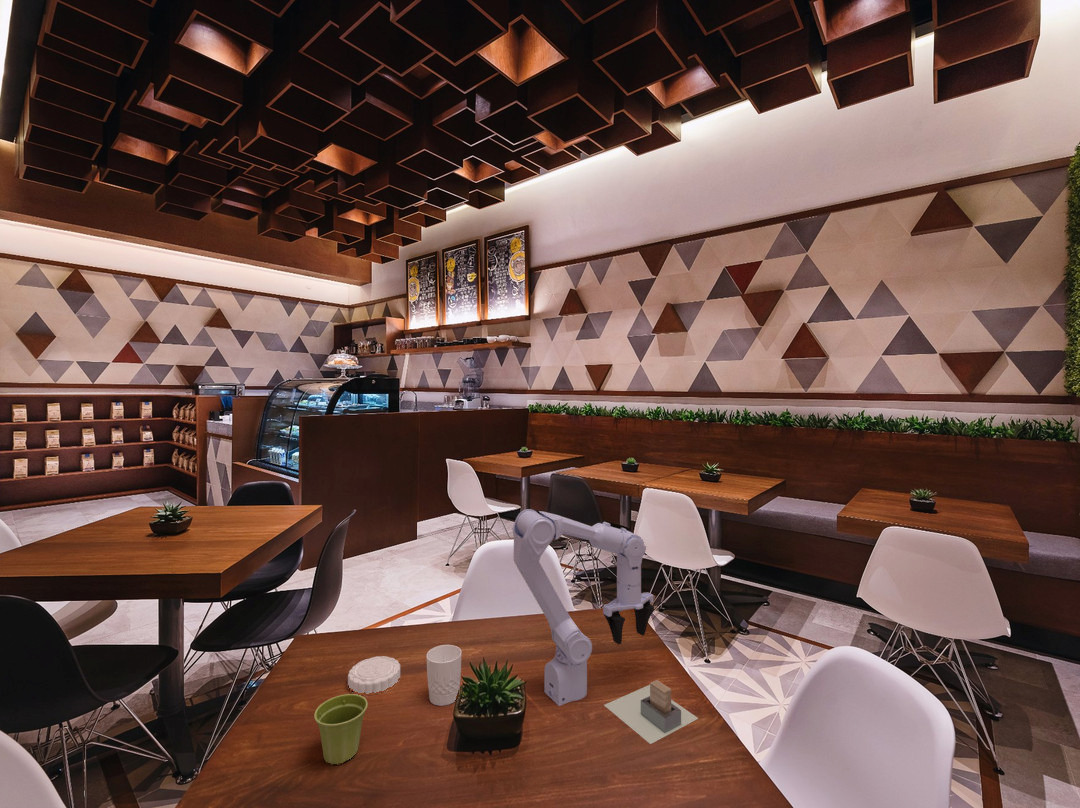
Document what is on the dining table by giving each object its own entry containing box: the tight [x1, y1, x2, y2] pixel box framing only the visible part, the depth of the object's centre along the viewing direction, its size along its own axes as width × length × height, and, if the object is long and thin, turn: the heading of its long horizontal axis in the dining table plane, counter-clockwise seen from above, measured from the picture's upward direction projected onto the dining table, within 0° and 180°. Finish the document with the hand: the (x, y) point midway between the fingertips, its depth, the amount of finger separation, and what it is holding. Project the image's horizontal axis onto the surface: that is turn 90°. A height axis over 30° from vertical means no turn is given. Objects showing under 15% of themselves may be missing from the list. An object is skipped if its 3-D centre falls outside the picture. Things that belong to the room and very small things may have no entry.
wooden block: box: [649, 679, 672, 715], centre depth 99 cm, size 2×4×7 cm, turn 32°
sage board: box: [603, 684, 699, 745], centre depth 101 cm, size 14×14×1 cm
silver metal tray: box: [641, 696, 681, 733], centre depth 99 cm, size 5×7×3 cm
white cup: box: [426, 644, 463, 707], centre depth 108 cm, size 8×8×10 cm
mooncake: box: [347, 655, 401, 694], centre depth 114 cm, size 12×12×4 cm
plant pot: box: [313, 693, 368, 765], centre depth 91 cm, size 9×9×9 cm
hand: (629, 638), depth 114 cm, fingers open, 7 cm apart
